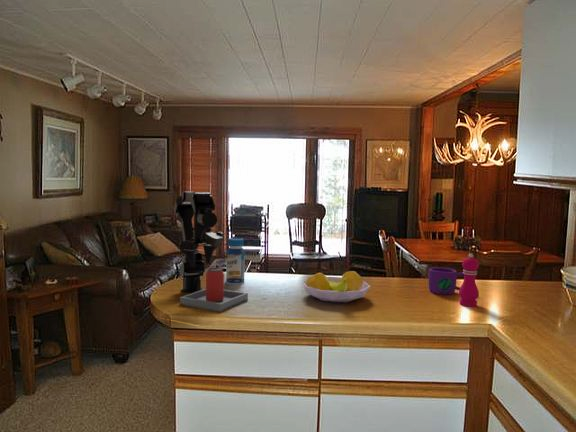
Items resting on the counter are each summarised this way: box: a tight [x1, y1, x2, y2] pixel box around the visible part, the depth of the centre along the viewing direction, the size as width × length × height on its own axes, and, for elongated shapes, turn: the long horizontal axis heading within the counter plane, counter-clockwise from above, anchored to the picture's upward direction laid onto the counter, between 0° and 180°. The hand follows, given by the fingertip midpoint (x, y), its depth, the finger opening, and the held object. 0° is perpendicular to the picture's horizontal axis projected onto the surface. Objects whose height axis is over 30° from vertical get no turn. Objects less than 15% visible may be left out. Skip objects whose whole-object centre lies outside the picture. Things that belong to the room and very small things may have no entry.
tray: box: [179, 288, 249, 313], centre depth 169 cm, size 18×18×3 cm
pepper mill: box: [458, 253, 480, 308], centre depth 174 cm, size 7×7×20 cm
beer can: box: [205, 267, 225, 302], centre depth 168 cm, size 7×7×12 cm
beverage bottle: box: [225, 237, 246, 285], centre depth 201 cm, size 8×8×20 cm
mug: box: [428, 266, 464, 296], centre depth 192 cm, size 17×11×10 cm, turn 83°
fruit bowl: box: [302, 270, 371, 304], centre depth 178 cm, size 28×27×11 cm
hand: (200, 265), depth 173 cm, fingers open, 9 cm apart
